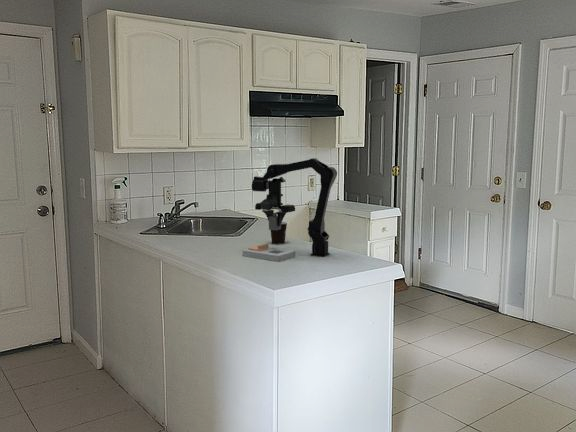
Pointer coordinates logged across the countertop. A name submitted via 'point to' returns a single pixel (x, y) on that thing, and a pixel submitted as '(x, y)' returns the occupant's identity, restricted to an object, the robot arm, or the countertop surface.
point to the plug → (274, 222)
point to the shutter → (259, 247)
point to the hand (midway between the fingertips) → (274, 226)
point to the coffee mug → (279, 234)
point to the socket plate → (270, 254)
